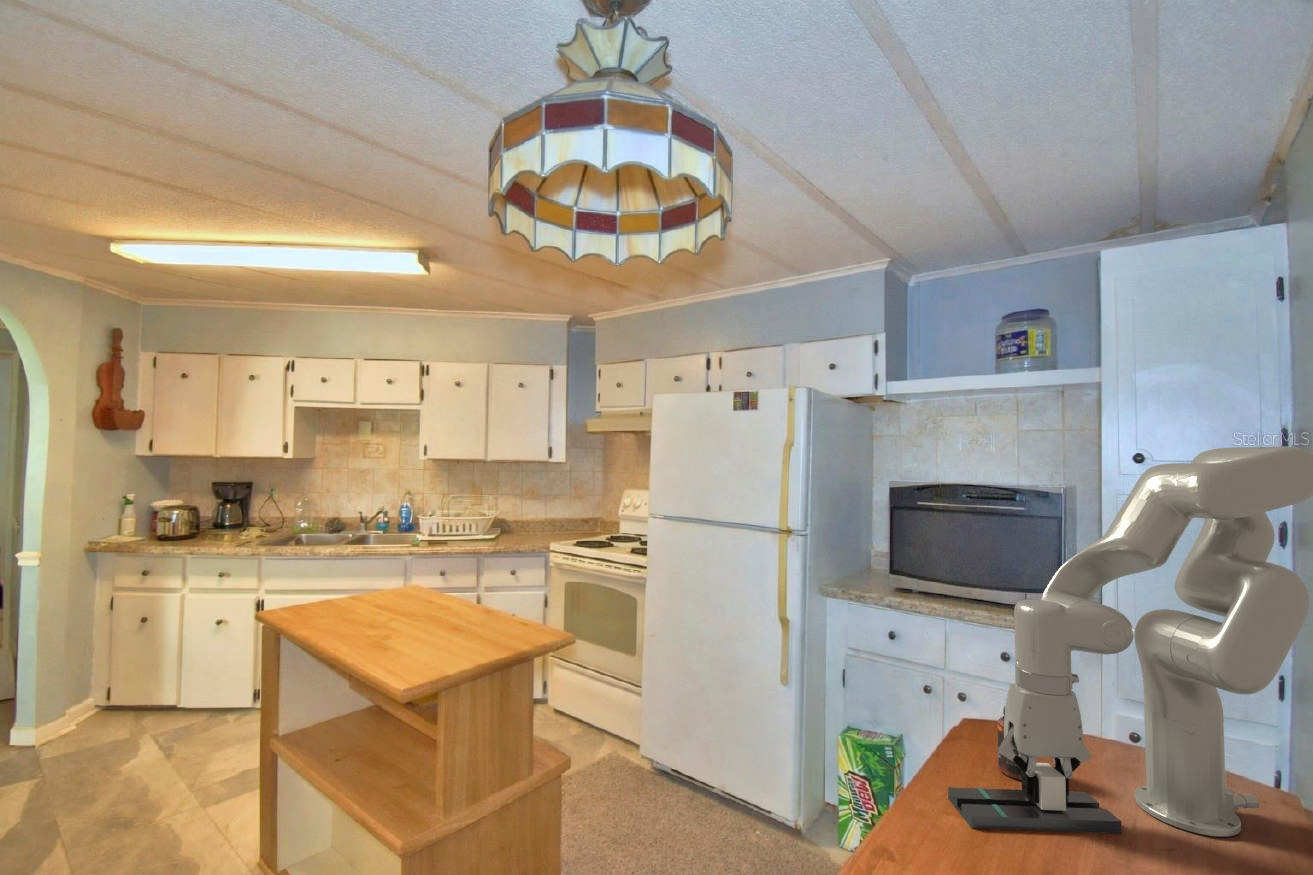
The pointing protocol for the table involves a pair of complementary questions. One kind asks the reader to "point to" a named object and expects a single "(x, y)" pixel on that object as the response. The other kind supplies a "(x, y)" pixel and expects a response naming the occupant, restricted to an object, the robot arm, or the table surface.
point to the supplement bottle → (1004, 763)
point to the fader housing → (1030, 812)
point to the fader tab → (1050, 788)
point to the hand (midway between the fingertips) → (1045, 797)
